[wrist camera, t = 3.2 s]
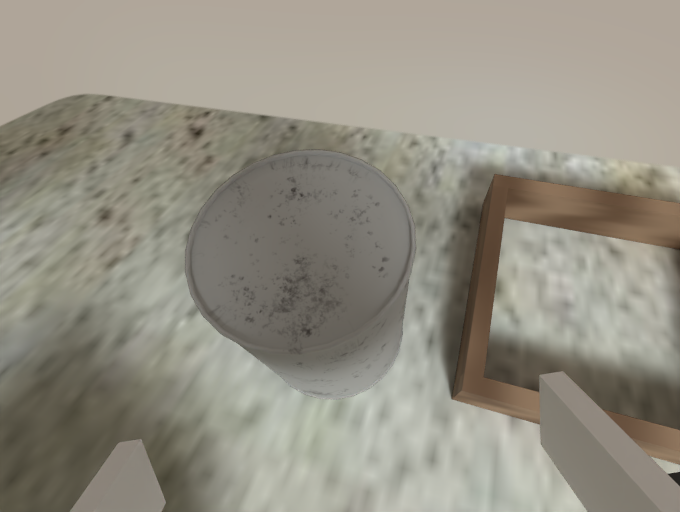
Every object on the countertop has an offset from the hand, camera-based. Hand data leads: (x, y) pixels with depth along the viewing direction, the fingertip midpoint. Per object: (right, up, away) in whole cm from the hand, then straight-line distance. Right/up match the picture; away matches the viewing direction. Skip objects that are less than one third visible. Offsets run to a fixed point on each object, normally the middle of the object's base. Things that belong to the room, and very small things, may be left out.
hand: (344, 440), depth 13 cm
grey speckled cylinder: (-1, +1, +14) cm, 14 cm away
